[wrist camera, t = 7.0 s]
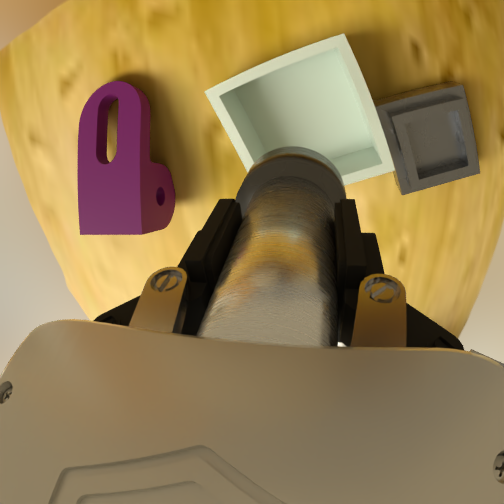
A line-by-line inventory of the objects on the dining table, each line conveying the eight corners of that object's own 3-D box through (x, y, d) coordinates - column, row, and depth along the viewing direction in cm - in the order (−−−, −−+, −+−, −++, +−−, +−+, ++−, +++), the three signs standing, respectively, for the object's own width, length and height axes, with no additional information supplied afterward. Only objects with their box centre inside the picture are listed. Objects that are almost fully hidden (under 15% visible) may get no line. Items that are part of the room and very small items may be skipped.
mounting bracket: (119, 104, 38) (118, 226, 42) (81, 91, 30) (79, 234, 34) (176, 92, 36) (176, 226, 40) (143, 72, 28) (141, 234, 32)
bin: (383, 150, 31) (395, 170, 26) (274, 185, 36) (267, 210, 31) (338, 37, 24) (343, 33, 20) (222, 84, 30) (204, 91, 25)
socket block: (469, 163, 28) (485, 178, 25) (396, 183, 32) (405, 201, 29) (451, 81, 24) (469, 86, 20) (370, 101, 28) (378, 109, 24)
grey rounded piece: (350, 151, 13) (398, 514, 2) (338, 240, 16) (328, 527, 5) (242, 143, 13) (62, 447, 3) (246, 232, 16) (153, 497, 6)
